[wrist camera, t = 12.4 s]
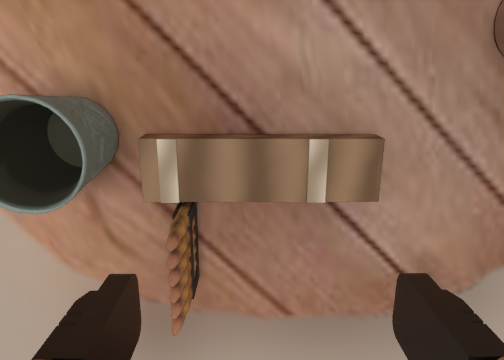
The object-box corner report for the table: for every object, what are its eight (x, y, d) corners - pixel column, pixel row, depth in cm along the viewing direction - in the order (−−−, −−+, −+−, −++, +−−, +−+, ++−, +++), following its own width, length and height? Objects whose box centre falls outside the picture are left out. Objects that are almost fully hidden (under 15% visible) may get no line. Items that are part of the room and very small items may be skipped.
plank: (375, 134, 43) (385, 139, 39) (369, 193, 44) (379, 202, 41) (145, 134, 42) (137, 139, 39) (149, 193, 44) (142, 202, 41)
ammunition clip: (199, 277, 47) (184, 343, 36) (184, 277, 47) (164, 343, 36) (196, 197, 44) (179, 240, 33) (180, 197, 44) (157, 241, 33)
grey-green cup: (17, 126, 42) (-70, 146, 30) (83, 68, 40) (17, 66, 29) (82, 194, 44) (24, 237, 33) (147, 142, 42) (110, 168, 31)
